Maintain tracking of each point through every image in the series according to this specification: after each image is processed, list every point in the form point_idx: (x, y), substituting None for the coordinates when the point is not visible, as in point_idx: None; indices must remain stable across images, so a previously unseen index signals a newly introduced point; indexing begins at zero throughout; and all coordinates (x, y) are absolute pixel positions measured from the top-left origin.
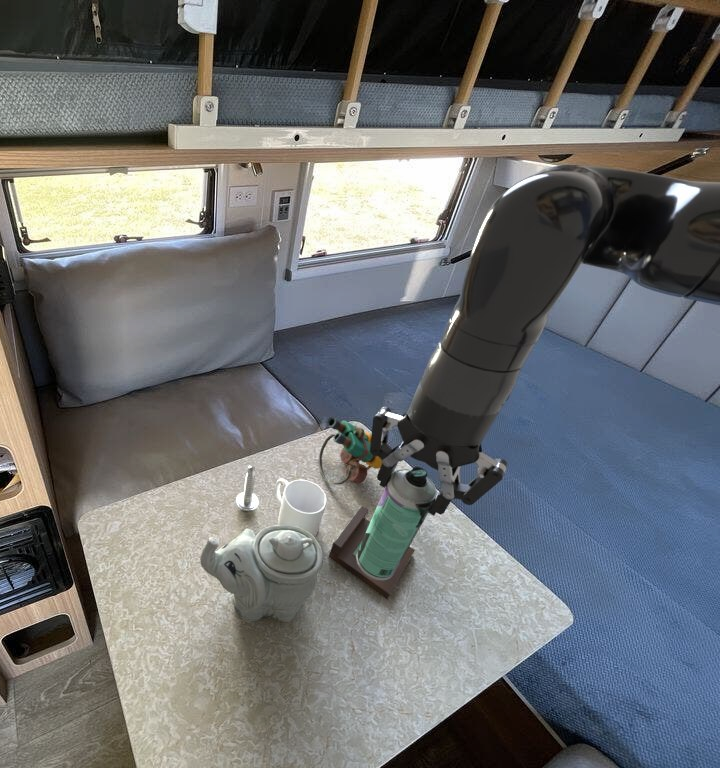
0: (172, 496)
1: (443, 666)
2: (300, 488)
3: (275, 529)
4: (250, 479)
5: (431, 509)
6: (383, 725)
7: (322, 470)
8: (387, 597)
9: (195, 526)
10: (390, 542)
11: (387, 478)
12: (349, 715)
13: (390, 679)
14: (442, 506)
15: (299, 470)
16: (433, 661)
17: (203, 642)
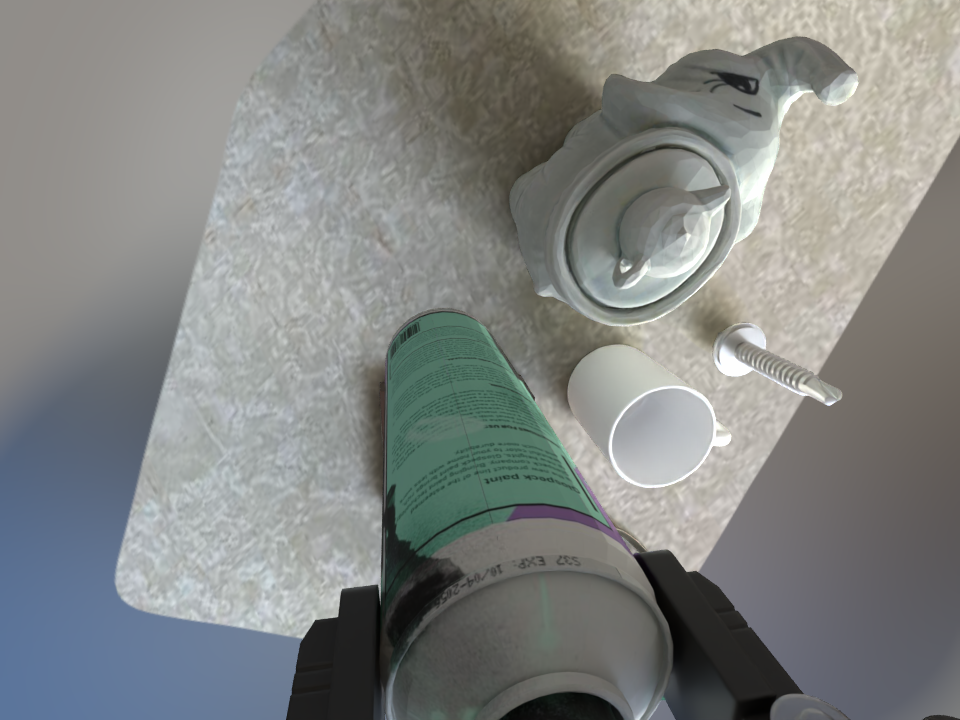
0: (885, 235)
1: (232, 343)
2: (673, 455)
3: (705, 265)
4: (802, 376)
5: (369, 613)
6: (262, 152)
7: (634, 544)
8: (381, 385)
9: (797, 213)
10: (444, 380)
11: (686, 615)
12: (320, 116)
13: (295, 242)
14: (320, 681)
15: (675, 508)
16: (251, 338)
17: (632, 2)
